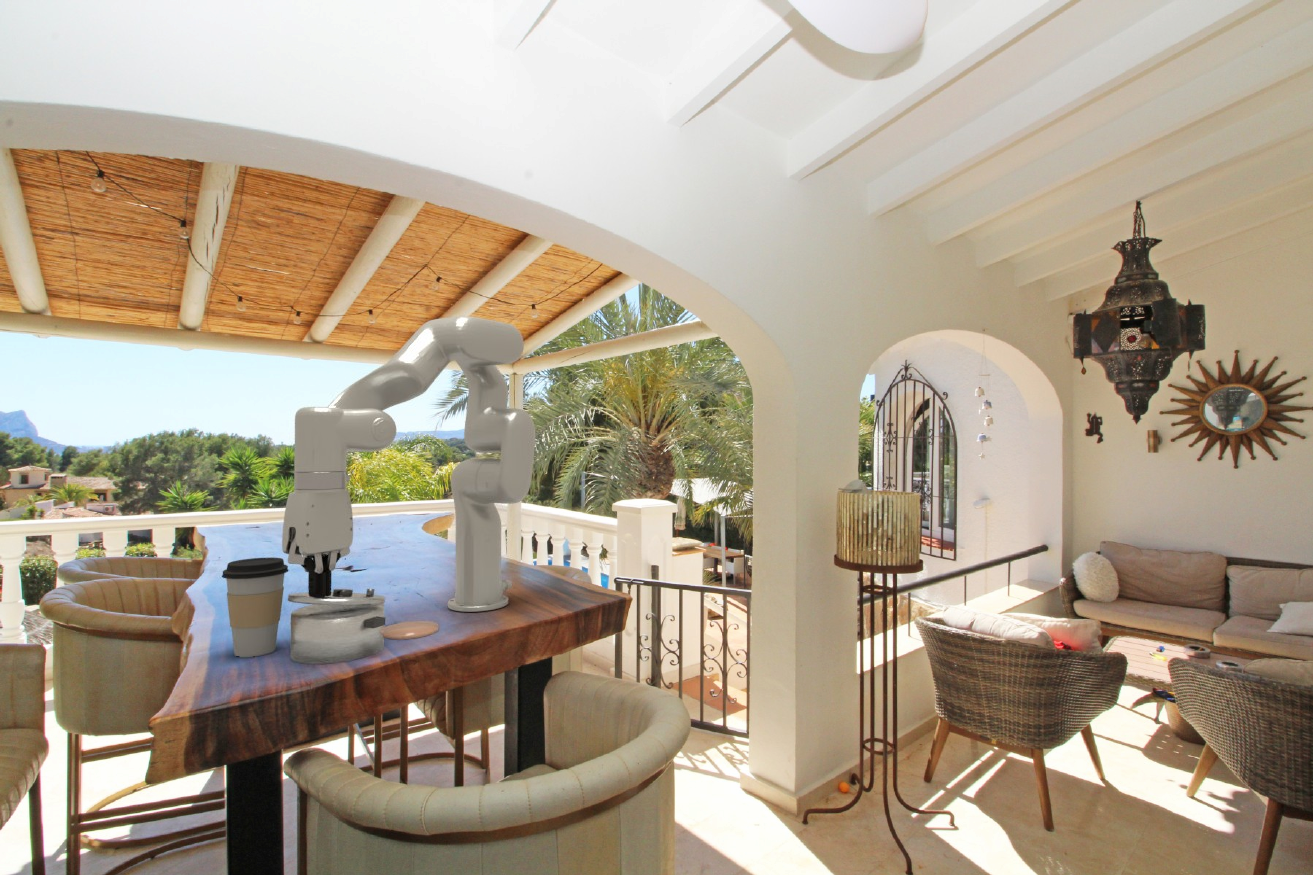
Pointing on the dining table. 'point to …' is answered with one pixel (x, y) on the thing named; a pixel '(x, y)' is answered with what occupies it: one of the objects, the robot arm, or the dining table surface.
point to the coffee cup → (255, 603)
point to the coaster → (410, 630)
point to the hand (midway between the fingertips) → (319, 595)
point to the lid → (339, 598)
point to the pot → (336, 632)
